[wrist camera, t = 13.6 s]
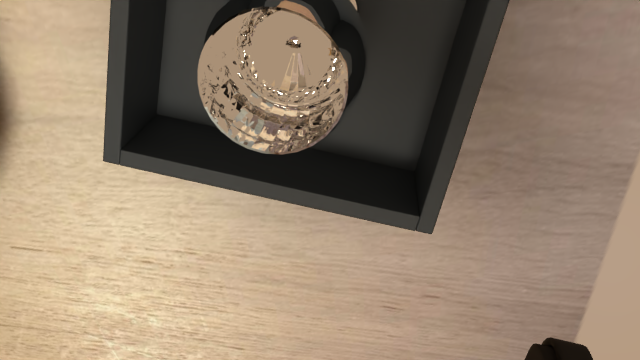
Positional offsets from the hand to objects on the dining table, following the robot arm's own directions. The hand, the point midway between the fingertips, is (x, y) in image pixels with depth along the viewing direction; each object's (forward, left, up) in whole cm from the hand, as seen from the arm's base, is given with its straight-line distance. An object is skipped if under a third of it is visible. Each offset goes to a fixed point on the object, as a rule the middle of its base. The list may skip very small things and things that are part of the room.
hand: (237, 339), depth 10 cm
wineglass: (+1, -1, -22) cm, 22 cm away
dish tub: (+1, -1, -23) cm, 23 cm away
